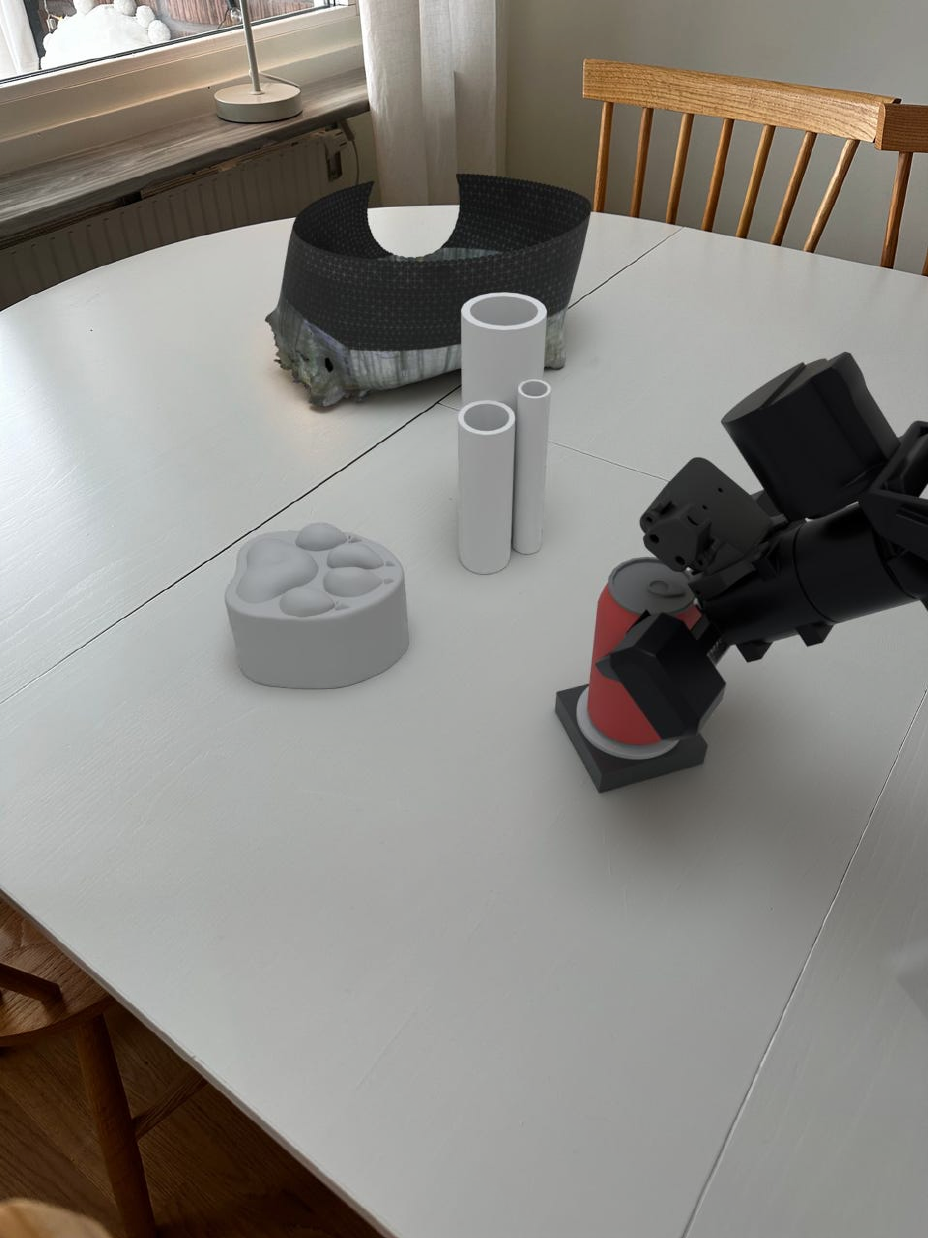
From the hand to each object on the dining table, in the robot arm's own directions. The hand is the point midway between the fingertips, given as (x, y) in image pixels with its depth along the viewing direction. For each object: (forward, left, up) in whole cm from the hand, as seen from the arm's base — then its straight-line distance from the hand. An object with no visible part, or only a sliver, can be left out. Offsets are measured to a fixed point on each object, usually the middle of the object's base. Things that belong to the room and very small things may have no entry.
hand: (625, 638), depth 65 cm
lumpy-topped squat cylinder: (+23, -3, -9) cm, 25 cm away
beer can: (-1, 0, -7) cm, 7 cm away
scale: (-1, 0, -9) cm, 9 cm away
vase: (+13, -20, -9) cm, 26 cm away
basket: (+29, -51, -9) cm, 60 cm away
